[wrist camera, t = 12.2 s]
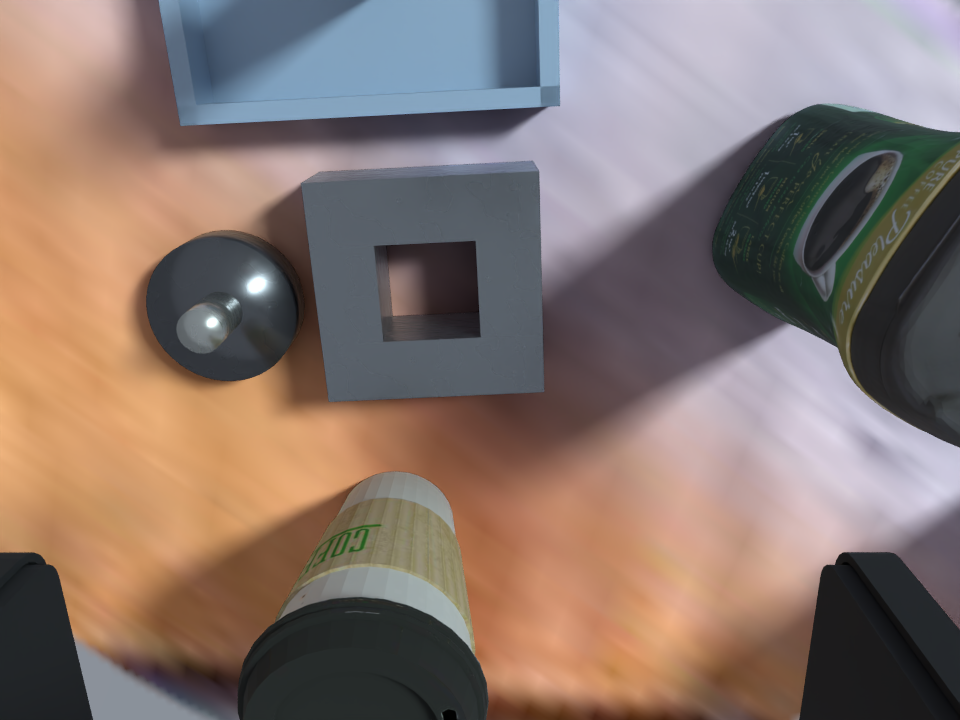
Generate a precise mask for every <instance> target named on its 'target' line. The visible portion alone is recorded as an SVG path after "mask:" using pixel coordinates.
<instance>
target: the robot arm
mask: <svg viewBox="0 0 960 720" xmlns="http://www.w3.org/2000/svg"><path fill="white" fill-rule="evenodd" d="M0 720H93V718H92V714H91V709H90V705H89V701H88V697H87V693H86V689H85V684H84V680H83V676H82V672H81V668H80V663H79V659H78V655H77V650H76V646H75V642H74V638H73V634H72V629H71V625H70V621H69V617H68V613H67V608H66V604H65V600H64V596H63V592H62V587H61V583H60V579H59V575H58V573H57V570H56V569H55V568H54V567H53V566H51V565H46V562H45V560H44V559H43V558H42V556H41V555H39V554H37V553H0ZM799 720H960V630H959V629H958V627H957V626H956V625H955V624H954V623H953V621H952V620H951V619H950V618H949V617H948V615H947V614H946V613H945V612H944V611H943V609H942V608H941V607H940V606H939V605H938V603H937V602H936V601H935V600H934V599H933V597H932V596H931V595H930V594H929V593H928V591H927V590H926V589H925V588H924V587H923V585H922V584H921V583H920V582H919V581H918V579H917V578H916V577H915V576H914V575H913V573H912V572H911V571H910V570H909V569H908V567H907V566H906V565H905V564H904V563H903V561H902V560H901V559H900V558H899V557H898V556H897V555H896V554H894V553H889V552H844V553H842V554H840V555H839V557H838V558H837V560H836V563H835V565H826V566H824V568H823V570H822V572H821V577H820V583H819V590H818V597H817V604H816V610H815V617H814V624H813V631H812V638H811V644H810V651H809V658H808V665H807V672H806V679H805V685H804V692H803V699H802V706H801V713H800V719H799Z"/></svg>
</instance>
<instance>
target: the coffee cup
mask: <svg viewBox="0 0 960 720" xmlns="http://www.w3.org/2000/svg"><path fill="white" fill-rule="evenodd" d="M488 702H489V701H488V692H487V682H486V679H485V677H484V674H483V671H482V668H481V666H480V663H479V662H478V660H477V658H476V657H475V644H474V636H473V629H472V622H471V616H470V609H469V603H468V596H467V590H466V583H465V577H464V570H463V564H462V557H461V551H460V547H459V544H458V541H457V538H456V536H455V529H454V522H453V514H452V510H451V507H450V504H449V502H448V500H447V499H446V497H445V496H444V494H443V493H442V492H441V491H440V490H439V489H438V488H437V487H436V486H435V485H434V484H432V483H431V482H430V481H428V480H426V479H424V478H422V477H420V476H418V475H414V474H411V473H407V472H397V471H395V472H384V473H380V474H376V475H373V476H371V477H369V478H367V479H365V480H363V481H362V482H361V483H359V484H358V485H357V486H356V487H355V488H354V489H353V490H352V491H351V492H350V493H349V495H348V497H347V499H346V500H345V502H344V504H343V506H342V508H341V509H340V511H339V513H338V515H337V516H336V518H335V519H334V520H333V521H332V522H331V523H330V524H329V526H328V527H327V529H326V531H325V533H324V534H323V536H322V538H321V540H320V541H319V543H318V545H317V546H316V548H315V550H314V552H313V553H312V555H311V557H310V559H309V560H308V562H307V564H306V566H305V567H304V569H303V571H302V573H301V574H300V576H299V578H298V580H297V581H296V583H295V585H294V587H293V588H292V590H291V592H290V594H289V595H288V597H287V599H286V600H285V602H284V604H283V606H282V608H281V609H280V611H279V613H278V615H277V617H276V620H275V623H274V624H272V625H271V626H269V627H268V628H267V629H266V630H265V631H264V633H263V634H262V635H261V636H260V637H259V638H258V639H257V640H256V641H255V642H254V644H253V646H252V647H251V649H250V651H249V653H248V655H247V656H246V658H245V660H244V663H243V667H242V671H241V674H240V678H239V687H238V714H239V718H240V720H486V716H487V709H488Z"/></svg>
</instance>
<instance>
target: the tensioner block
mask: <svg viewBox="0 0 960 720" xmlns="http://www.w3.org/2000/svg"><path fill="white" fill-rule="evenodd" d="M301 188H302V196H303V204H304V211H305V219H306V227H307V235H308V243H309V251H310V258H311V266H312V274H313V282H314V290H315V298H316V305H317V313H318V321H319V329H320V337H321V344H322V352H323V360H324V368H325V376H326V384H327V391H328V399H329V402H338V401H360V400H382V399H404V398H426V397H447V396H469V395H491V394H513V393H535V392H544V359H543V316H542V273H541V230H540V187H539V170H538V168H537V167H536V165H535V163H534V162H533V161H521V162H502V163H482V164H463V165H443V166H424V167H404V168H385V169H365V170H346V171H327V172H318V173H317V174H315V175H313V176H312V177H310V178H309V179H307V180H305V181H304V182H302V183H301ZM460 241H476V257H477V276H478V295H479V312H469V313H448V314H427V315H406V316H393V313H392V303H391V292H390V281H389V270H388V260H387V249H386V245H400V244H420V243H440V242H460Z"/></svg>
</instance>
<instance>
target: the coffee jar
mask: <svg viewBox="0 0 960 720" xmlns="http://www.w3.org/2000/svg"><path fill="white" fill-rule="evenodd" d="M712 253H713V261H714V264H715V267H716V269H717V271H718V273H719V275H720V276H721V278H722V279H723V280H724V281H725V282H726V283H727V284H728V285H729V286H730V287H731V288H732V289H733V290H735V291H736V292H737V293H739V294H740V295H741V296H743V297H744V298H746V299H747V300H749V301H750V302H752V303H753V304H755V305H756V306H758V307H760V308H761V309H763V310H764V311H766V312H768V313H769V314H771V315H773V316H775V317H777V318H779V319H781V320H783V321H785V322H787V323H789V324H791V325H794V326H796V327H798V328H800V329H803V330H805V331H807V332H809V333H811V334H813V335H815V336H817V337H819V338H821V339H823V340H825V341H827V342H828V343H830V344H832V345H834V346H836V347H837V348H838V350H839V353H840V356H841V359H842V361H843V364H844V366H845V368H846V370H847V372H848V374H849V376H850V377H851V379H852V380H853V381H854V383H855V384H856V385H857V386H858V387H859V388H860V389H861V390H862V391H863V392H864V393H865V394H866V395H867V396H868V397H869V398H870V399H871V400H873V401H874V402H875V403H877V404H878V405H879V406H881V407H882V408H883V409H885V410H887V411H888V412H890V413H892V414H893V415H895V416H896V417H898V418H900V419H902V420H903V421H905V422H907V423H909V424H910V425H912V426H914V427H916V428H918V429H920V430H922V431H925V432H927V433H929V434H931V435H933V436H935V437H937V438H939V439H941V440H943V441H945V442H948V443H950V444H953V445H955V446H957V447H960V132H947V131H940V130H935V129H931V128H926V127H923V126H919V125H915V124H912V123H908V122H905V121H902V120H898V119H895V118H892V117H889V116H886V115H883V114H879V113H876V112H873V111H869V110H866V109H862V108H858V107H852V106H847V105H841V104H817V105H813V106H810V107H807V108H805V109H803V110H801V111H799V112H797V113H795V114H794V115H792V116H791V117H790V118H788V119H787V120H786V121H785V122H784V123H783V124H782V125H781V126H780V127H779V128H778V129H777V130H776V132H775V133H774V134H773V135H772V136H771V138H770V139H769V140H768V141H767V143H766V144H765V146H764V147H763V148H762V150H761V151H760V152H759V153H758V155H757V156H756V158H755V159H754V161H753V162H752V163H751V165H750V166H749V168H748V170H747V171H746V173H745V175H744V176H743V178H742V179H741V181H740V183H739V184H738V186H737V188H736V189H735V191H734V193H733V194H732V196H731V198H730V200H729V202H728V204H727V206H726V208H725V210H724V212H723V215H722V217H721V218H720V221H719V223H718V226H717V228H716V231H715V234H714V238H713V244H712Z"/></svg>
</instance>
